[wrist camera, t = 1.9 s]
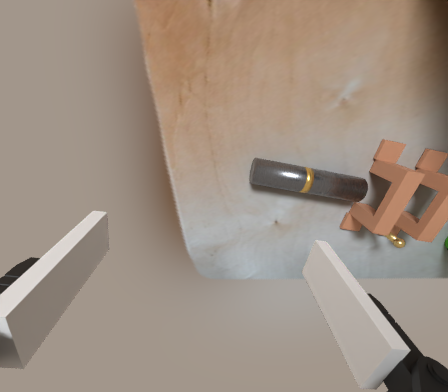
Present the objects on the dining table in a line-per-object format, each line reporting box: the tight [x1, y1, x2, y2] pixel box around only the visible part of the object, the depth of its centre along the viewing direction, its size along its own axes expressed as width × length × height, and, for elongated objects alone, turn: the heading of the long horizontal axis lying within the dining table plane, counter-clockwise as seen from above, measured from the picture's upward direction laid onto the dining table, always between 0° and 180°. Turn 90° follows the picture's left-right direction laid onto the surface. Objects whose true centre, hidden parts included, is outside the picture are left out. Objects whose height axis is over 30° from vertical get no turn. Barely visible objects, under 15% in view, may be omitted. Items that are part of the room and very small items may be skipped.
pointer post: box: [384, 232, 405, 248], centre depth 33 cm, size 2×2×6 cm
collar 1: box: [340, 139, 425, 235], centre depth 30 cm, size 15×3×6 cm, turn 169°
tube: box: [250, 158, 368, 202], centre depth 30 cm, size 16×4×4 cm, turn 79°
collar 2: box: [379, 149, 448, 242], centre depth 31 cm, size 15×3×6 cm, turn 169°
